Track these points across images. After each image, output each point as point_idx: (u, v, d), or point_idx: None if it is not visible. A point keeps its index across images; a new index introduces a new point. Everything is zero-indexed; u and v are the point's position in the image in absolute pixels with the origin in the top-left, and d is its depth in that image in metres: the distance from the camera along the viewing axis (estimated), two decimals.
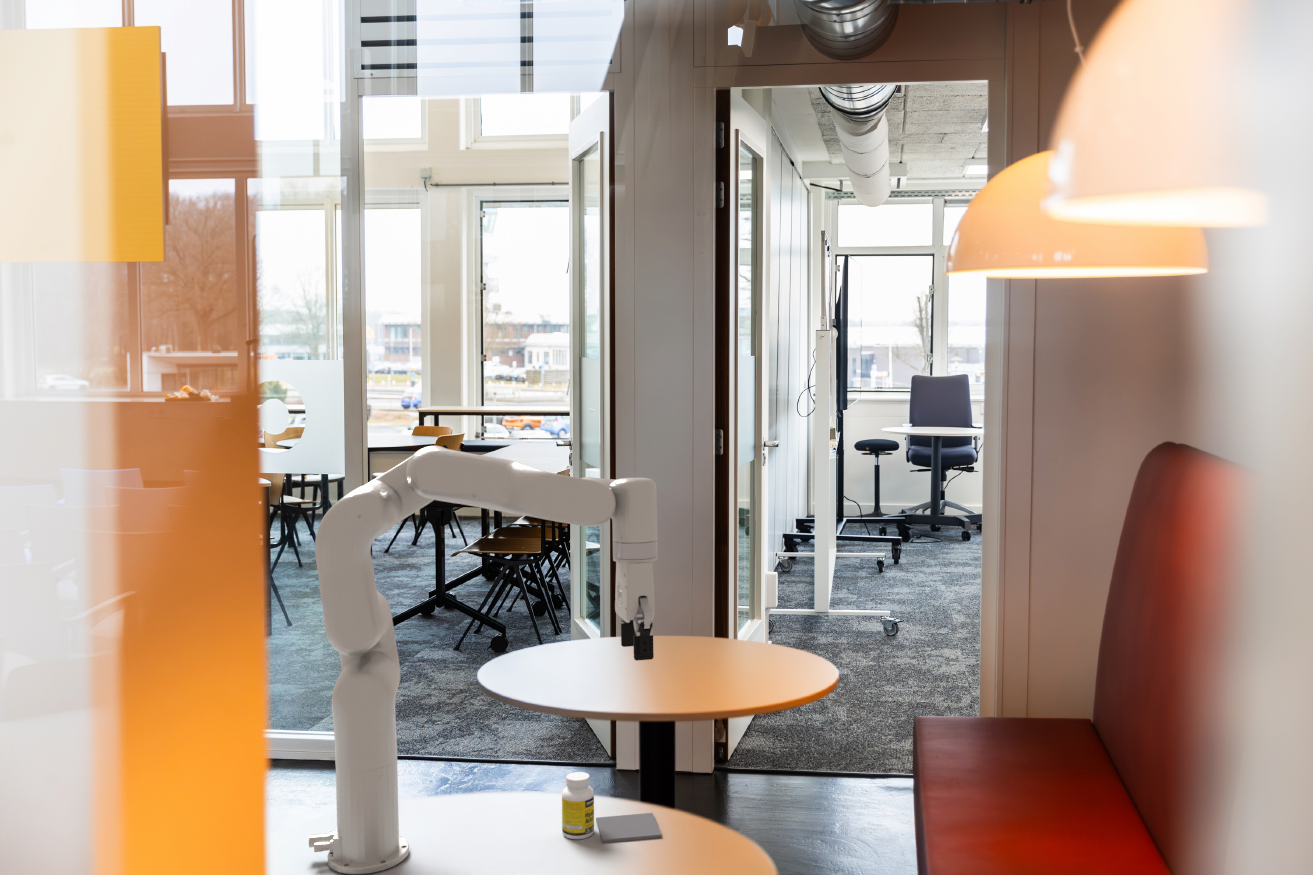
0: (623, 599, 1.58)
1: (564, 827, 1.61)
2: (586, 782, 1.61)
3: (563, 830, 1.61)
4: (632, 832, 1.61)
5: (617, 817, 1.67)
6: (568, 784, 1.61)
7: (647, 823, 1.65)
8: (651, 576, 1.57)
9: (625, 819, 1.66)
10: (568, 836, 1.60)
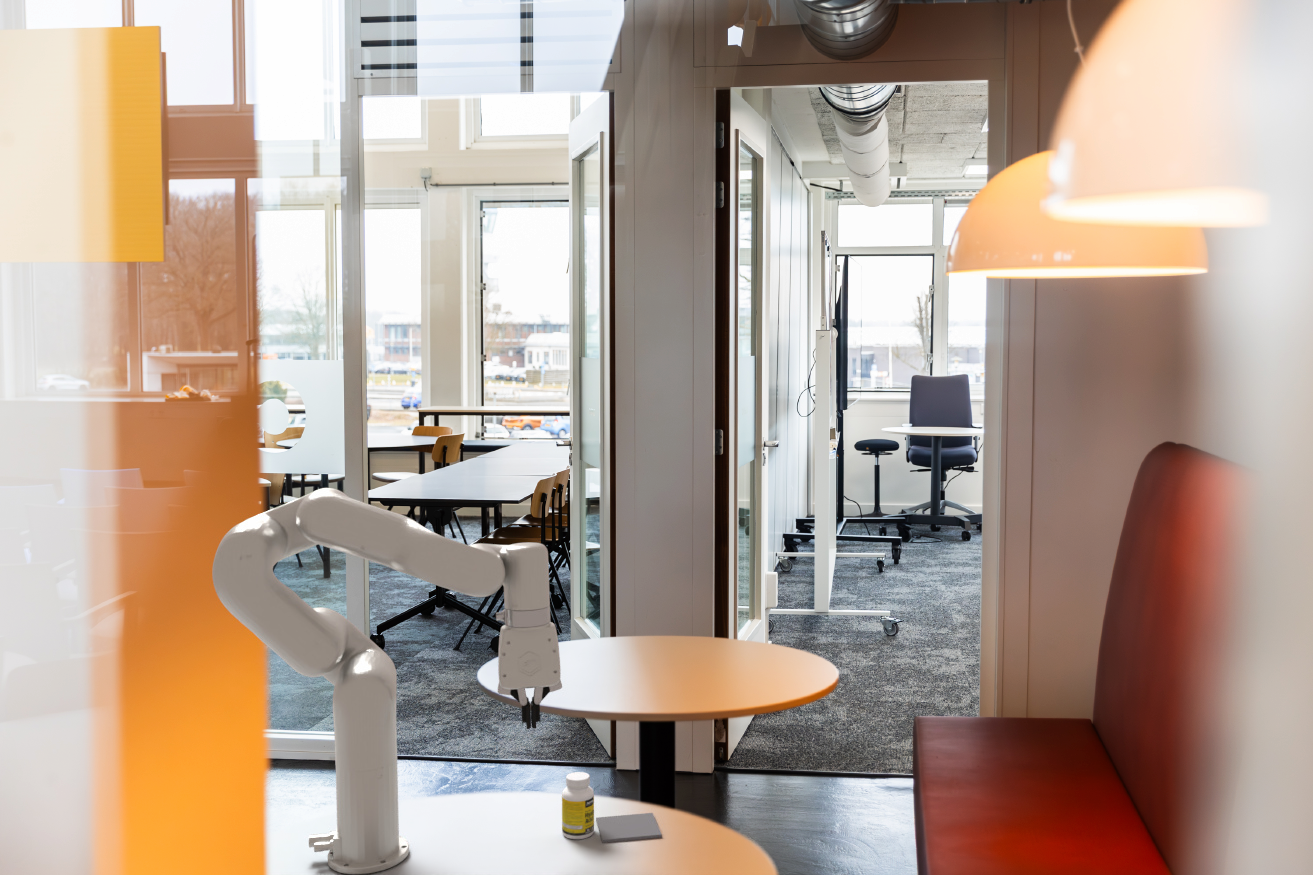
0: (546, 664, 1.58)
1: (564, 827, 1.61)
2: (586, 782, 1.61)
3: (563, 830, 1.61)
4: (632, 832, 1.61)
5: (617, 817, 1.67)
6: (568, 784, 1.61)
7: (647, 823, 1.65)
8: None
9: (625, 819, 1.66)
10: (568, 836, 1.60)
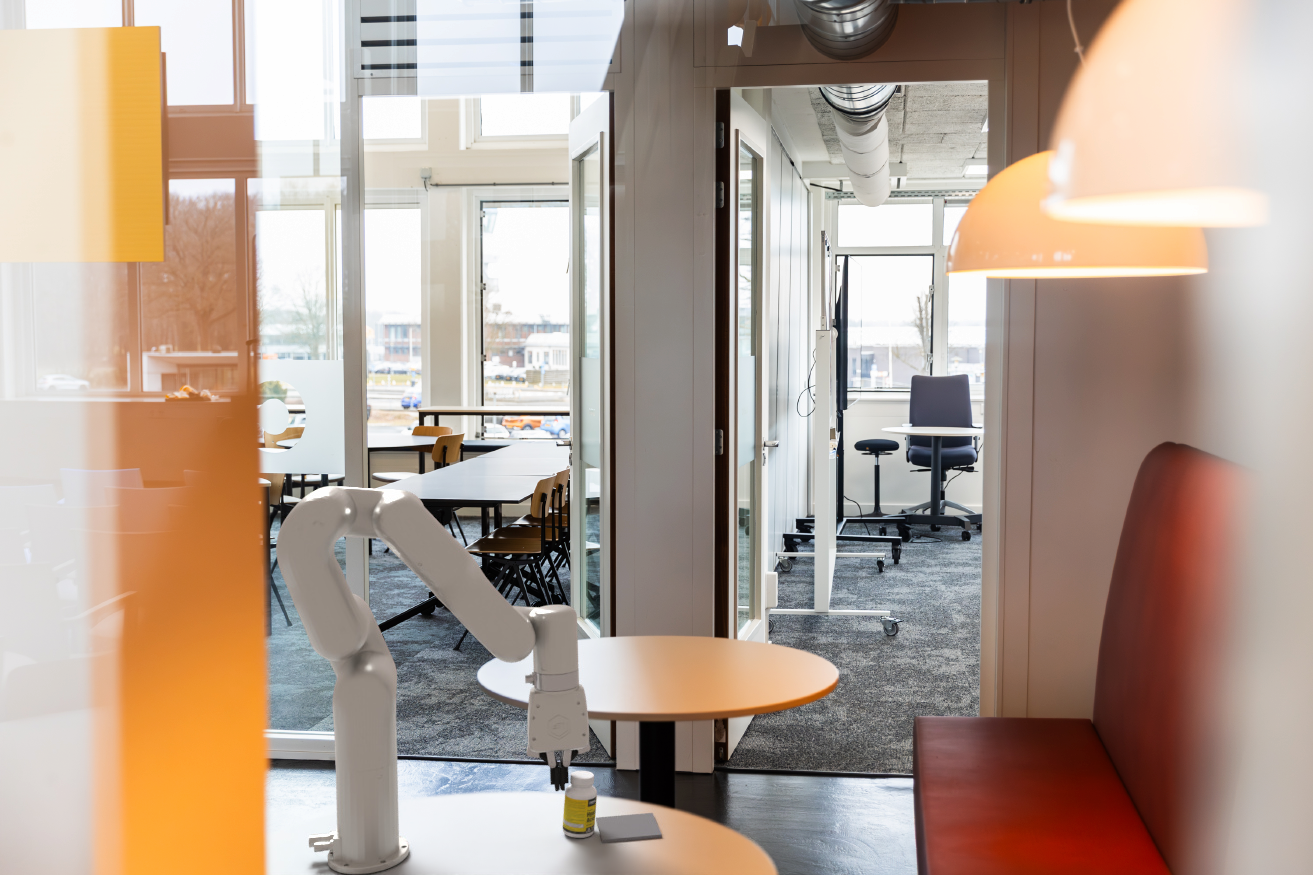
0: (575, 727, 1.59)
1: (565, 824, 1.61)
2: (590, 781, 1.61)
3: (564, 827, 1.61)
4: (632, 832, 1.61)
5: (617, 817, 1.67)
6: (572, 782, 1.61)
7: (647, 823, 1.65)
8: None
9: (625, 819, 1.66)
10: (568, 834, 1.60)
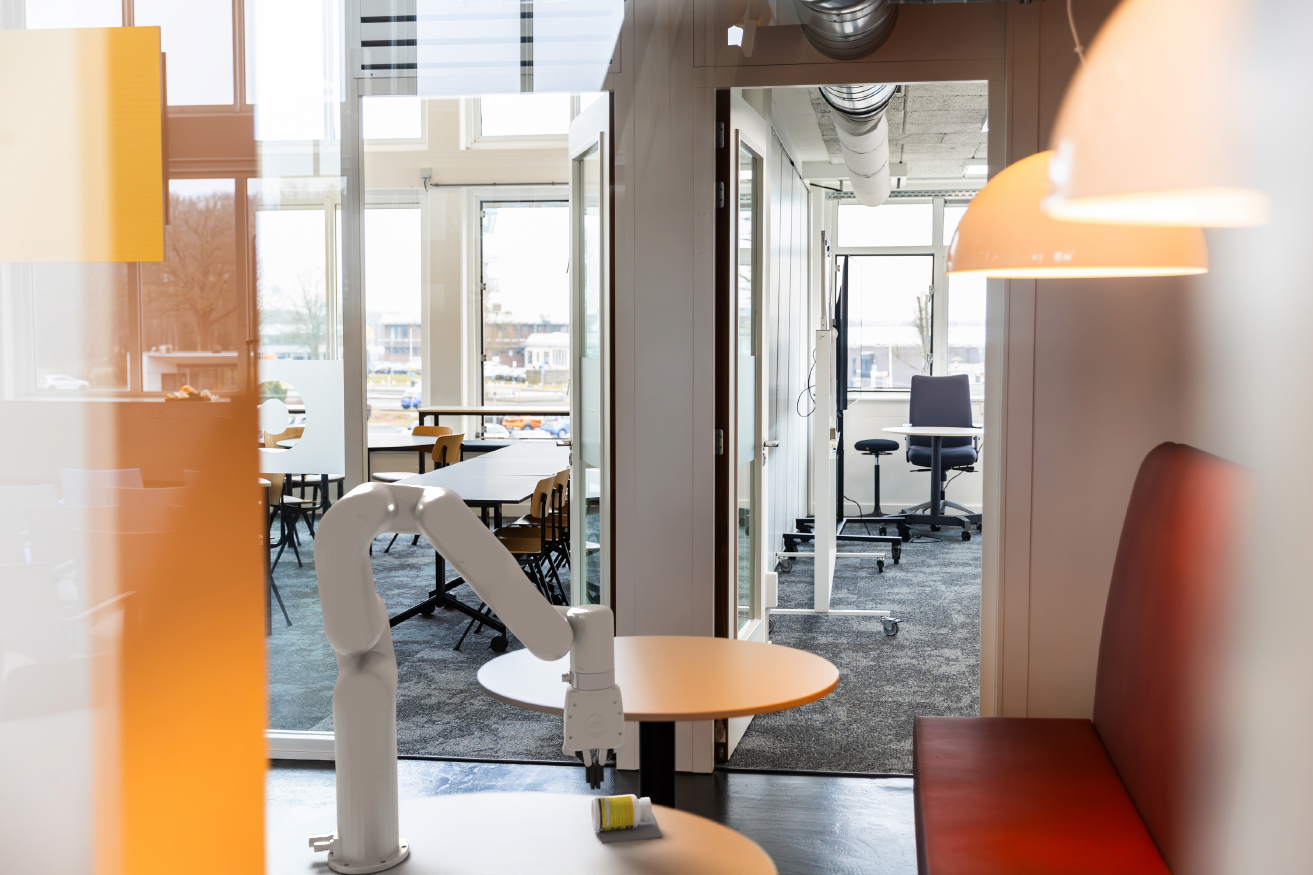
0: (611, 726, 1.60)
1: (604, 805, 1.61)
2: (647, 821, 1.63)
3: (600, 803, 1.61)
4: (632, 832, 1.61)
5: None
6: (645, 804, 1.63)
7: (647, 823, 1.65)
8: None
9: None
10: (597, 811, 1.60)
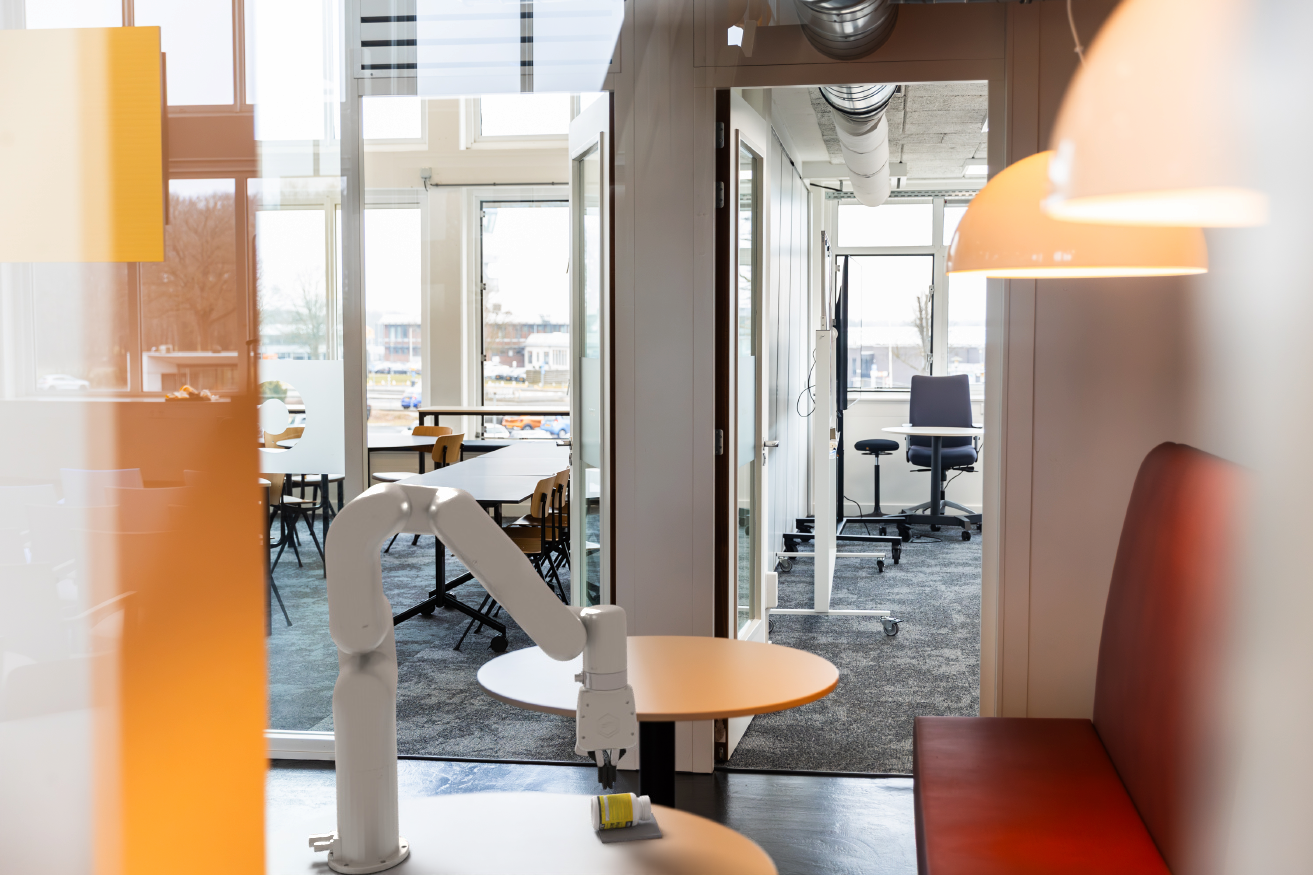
0: (624, 726, 1.61)
1: (603, 800, 1.62)
2: (647, 818, 1.63)
3: (598, 799, 1.62)
4: (632, 832, 1.61)
5: None
6: (644, 800, 1.64)
7: (647, 823, 1.65)
8: None
9: None
10: (596, 806, 1.61)
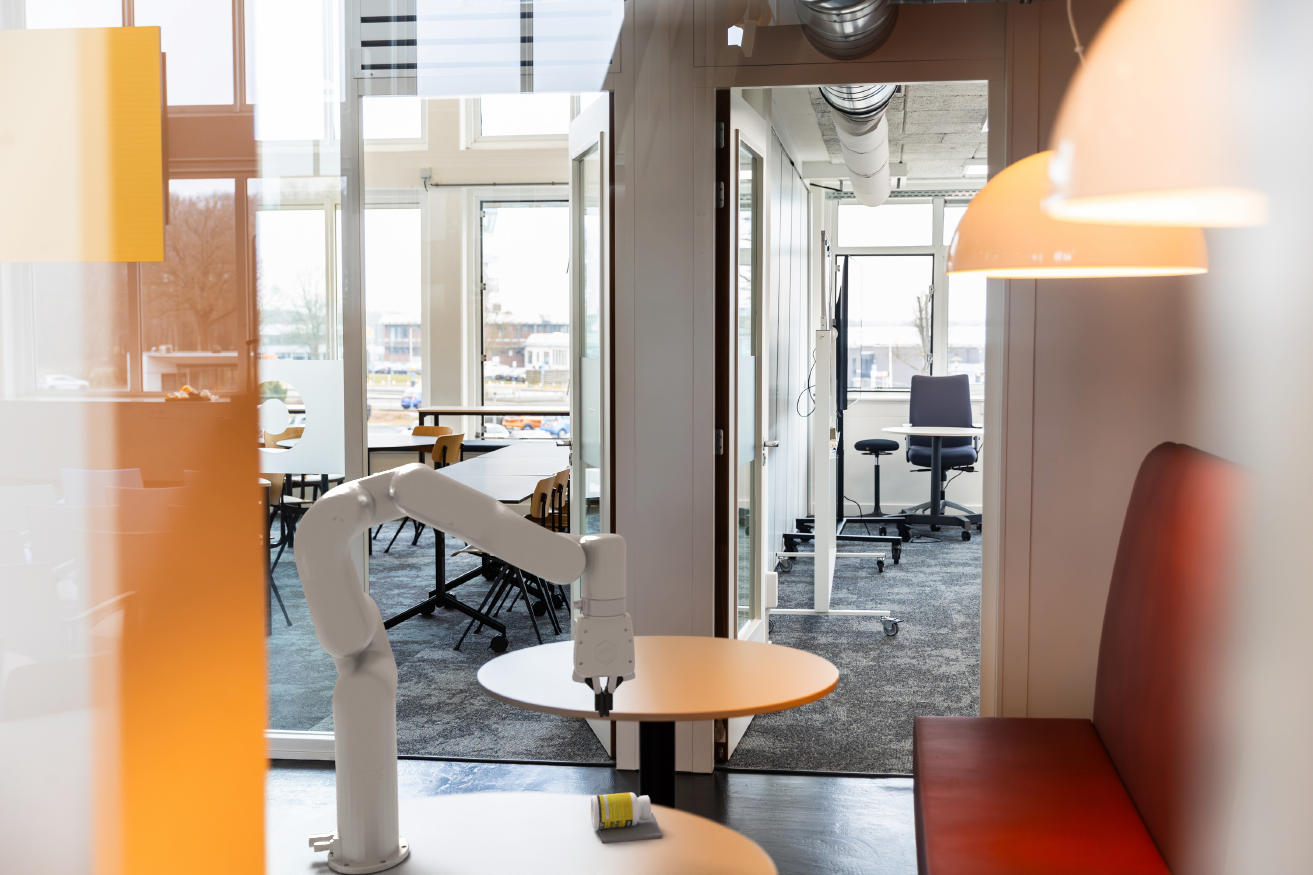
0: (622, 654, 1.60)
1: (603, 799, 1.62)
2: (647, 818, 1.63)
3: (598, 797, 1.63)
4: (632, 832, 1.61)
5: None
6: (644, 799, 1.64)
7: (647, 823, 1.65)
8: None
9: None
10: (596, 804, 1.61)
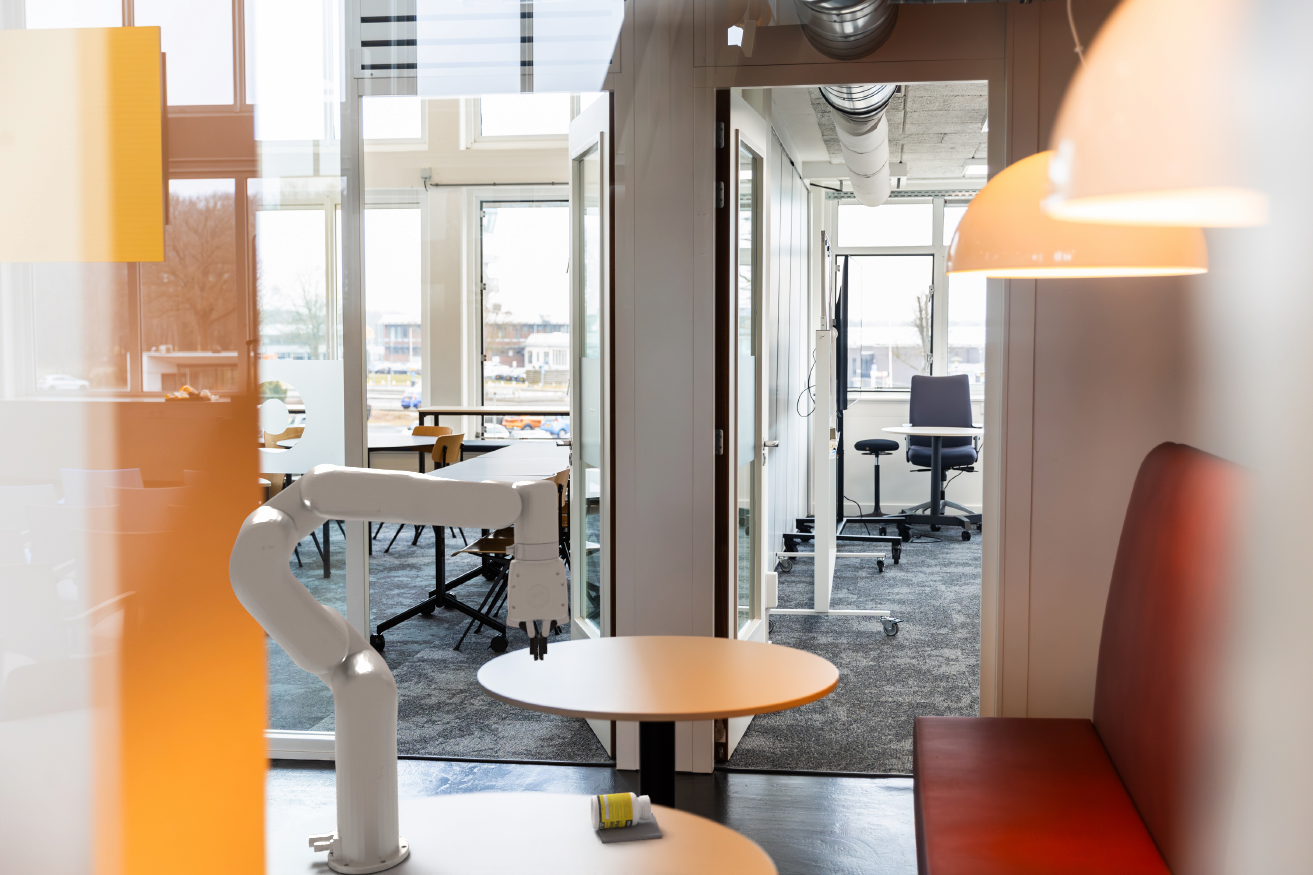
0: (554, 597, 1.62)
1: (603, 799, 1.62)
2: (647, 818, 1.63)
3: (598, 797, 1.63)
4: (632, 832, 1.61)
5: None
6: (644, 799, 1.64)
7: (647, 823, 1.65)
8: None
9: None
10: (596, 804, 1.61)
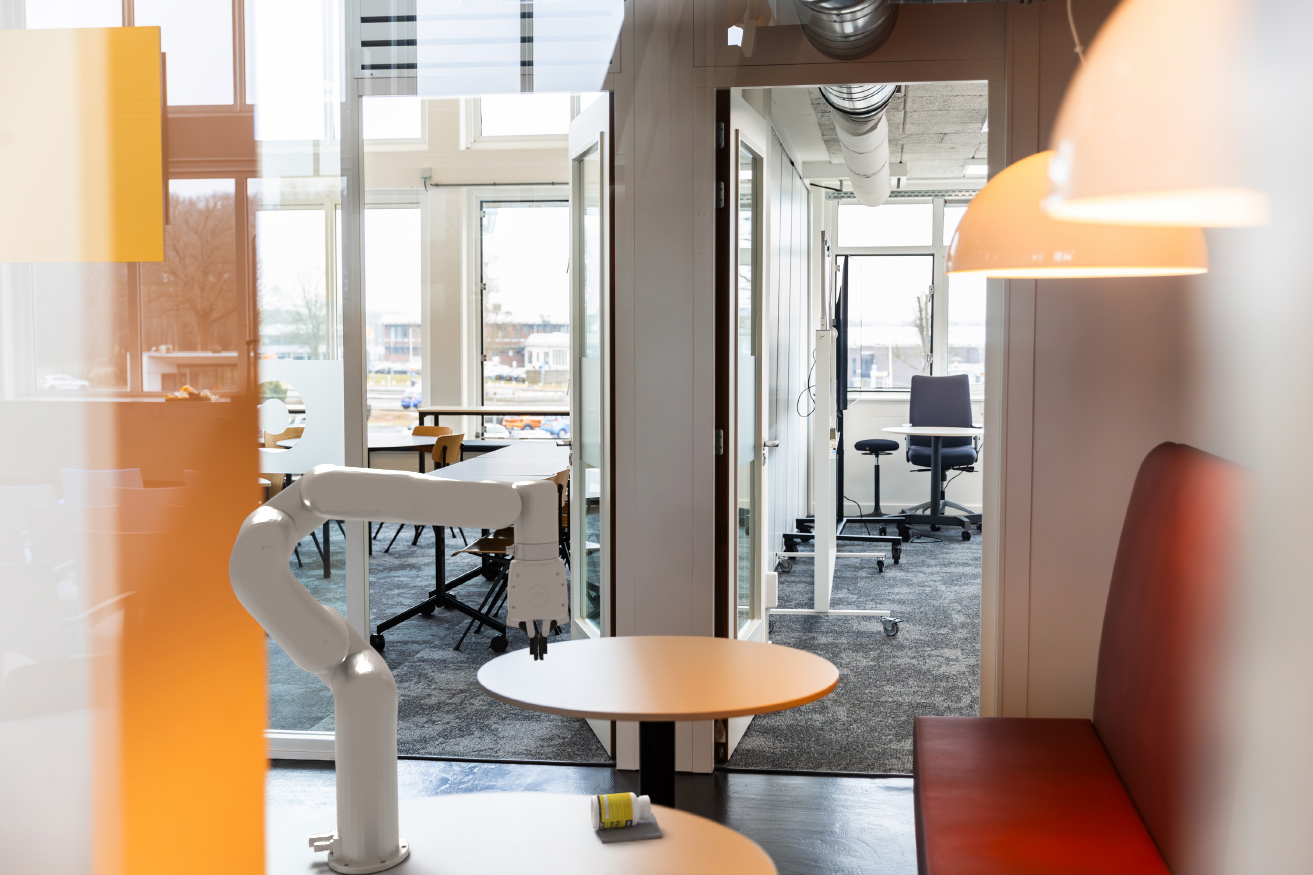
0: (554, 597, 1.62)
1: (603, 799, 1.62)
2: (647, 818, 1.63)
3: (598, 797, 1.63)
4: (632, 832, 1.61)
5: None
6: (644, 799, 1.64)
7: (647, 823, 1.65)
8: None
9: None
10: (596, 804, 1.61)
